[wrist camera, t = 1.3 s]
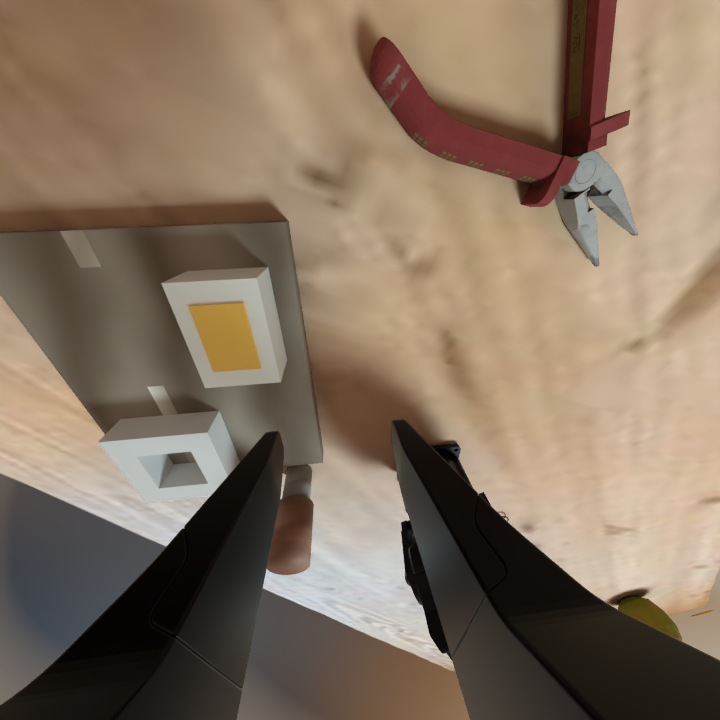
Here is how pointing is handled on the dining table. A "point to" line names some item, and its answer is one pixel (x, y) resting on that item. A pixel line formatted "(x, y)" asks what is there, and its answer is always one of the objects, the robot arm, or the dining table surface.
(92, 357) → the board
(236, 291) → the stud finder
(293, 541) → the brown wooden peg
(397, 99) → the pliers
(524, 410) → the dining table surface
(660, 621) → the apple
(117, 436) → the pilot socket
